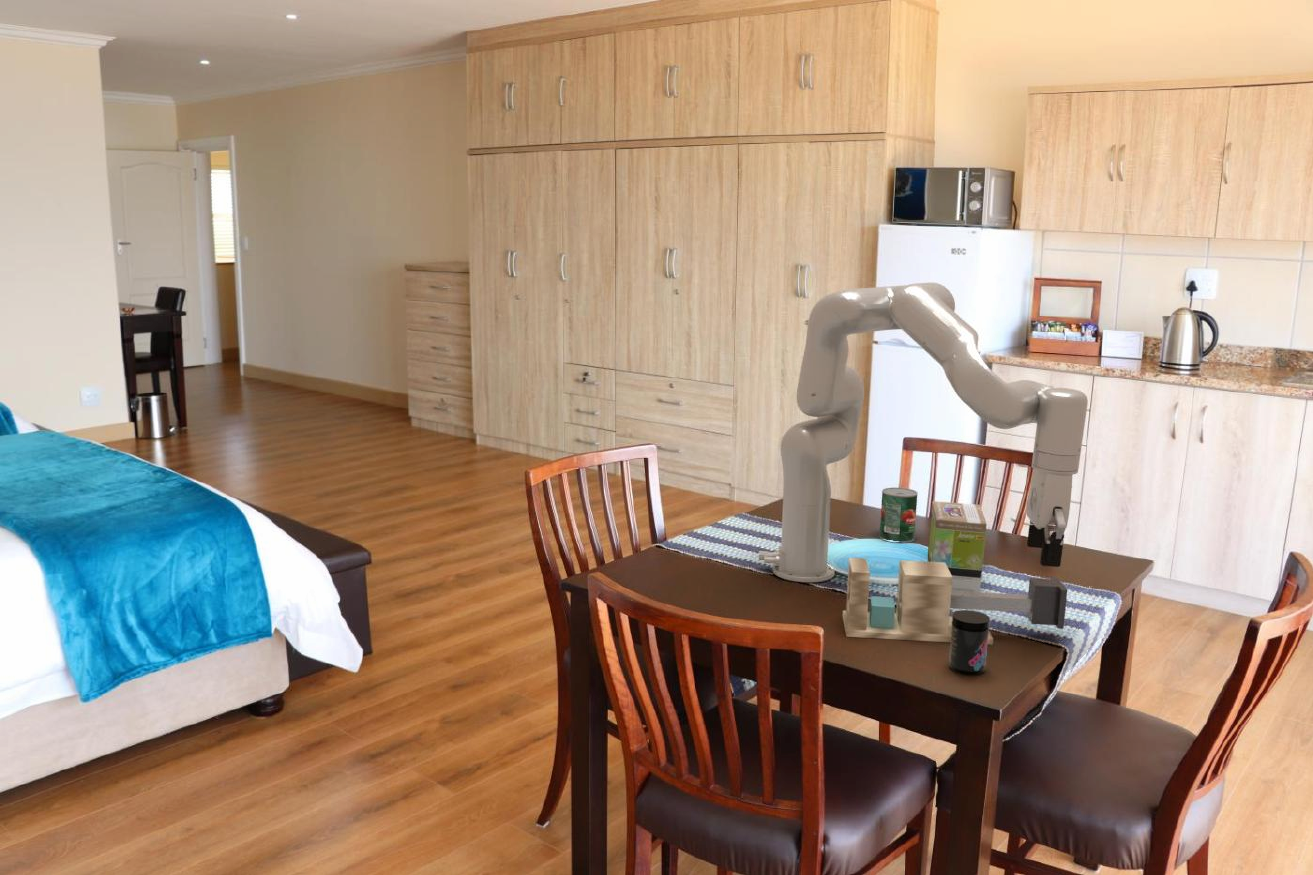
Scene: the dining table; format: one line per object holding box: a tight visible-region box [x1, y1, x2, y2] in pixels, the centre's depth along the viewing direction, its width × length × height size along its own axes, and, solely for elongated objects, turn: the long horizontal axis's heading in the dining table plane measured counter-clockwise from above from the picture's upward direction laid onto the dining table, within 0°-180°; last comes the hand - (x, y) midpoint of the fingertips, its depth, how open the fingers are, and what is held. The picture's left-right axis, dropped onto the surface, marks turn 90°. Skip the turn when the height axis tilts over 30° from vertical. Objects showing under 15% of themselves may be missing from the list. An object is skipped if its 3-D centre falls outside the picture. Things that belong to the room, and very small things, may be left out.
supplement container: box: [948, 609, 991, 676], centre depth 174 cm, size 6×6×9 cm
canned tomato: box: [878, 486, 918, 544], centre depth 245 cm, size 8×8×11 cm
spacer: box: [869, 595, 896, 629], centre depth 191 cm, size 4×5×4 cm
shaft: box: [950, 576, 1068, 630], centre depth 189 cm, size 26×7×7 cm, turn 84°
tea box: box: [926, 501, 987, 592], centre depth 216 cm, size 15×10×15 cm, turn 168°
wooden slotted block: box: [842, 557, 994, 646], centre depth 190 cm, size 25×10×12 cm, turn 84°
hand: (1042, 556), depth 187 cm, fingers open, 9 cm apart
